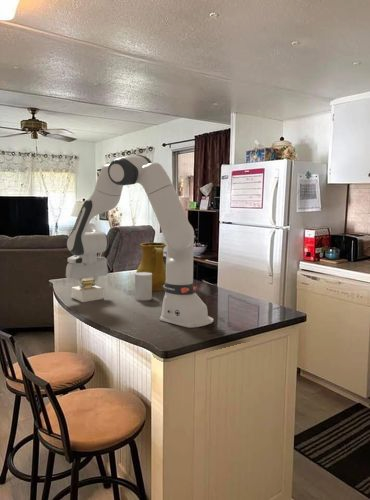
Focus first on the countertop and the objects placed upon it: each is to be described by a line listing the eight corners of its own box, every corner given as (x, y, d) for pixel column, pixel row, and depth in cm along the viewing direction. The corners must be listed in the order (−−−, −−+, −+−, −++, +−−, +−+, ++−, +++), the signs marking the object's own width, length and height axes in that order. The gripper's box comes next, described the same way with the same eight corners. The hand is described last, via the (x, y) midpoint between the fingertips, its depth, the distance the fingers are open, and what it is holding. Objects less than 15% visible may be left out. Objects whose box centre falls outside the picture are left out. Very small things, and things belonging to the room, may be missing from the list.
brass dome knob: (96, 292, 188) (96, 280, 187) (84, 294, 184) (84, 282, 183) (90, 290, 192) (90, 278, 192) (78, 291, 188) (78, 280, 188)
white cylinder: (148, 300, 186) (149, 275, 184) (132, 299, 187) (132, 274, 186) (153, 296, 194) (154, 272, 192) (137, 295, 195) (138, 271, 194)
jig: (103, 298, 188) (103, 288, 187) (82, 302, 181) (82, 291, 180) (92, 294, 196) (92, 284, 195) (71, 297, 189) (71, 287, 188)
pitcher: (171, 285, 219) (170, 240, 215) (166, 294, 201) (165, 246, 196) (140, 284, 221) (139, 240, 216) (133, 294, 202) (131, 246, 198)
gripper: (103, 255, 195) (103, 282, 197) (64, 258, 182) (64, 288, 183) (110, 256, 190) (110, 285, 192) (70, 260, 177) (70, 290, 179)
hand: (87, 286), depth 188 cm, fingers open, 5 cm apart
